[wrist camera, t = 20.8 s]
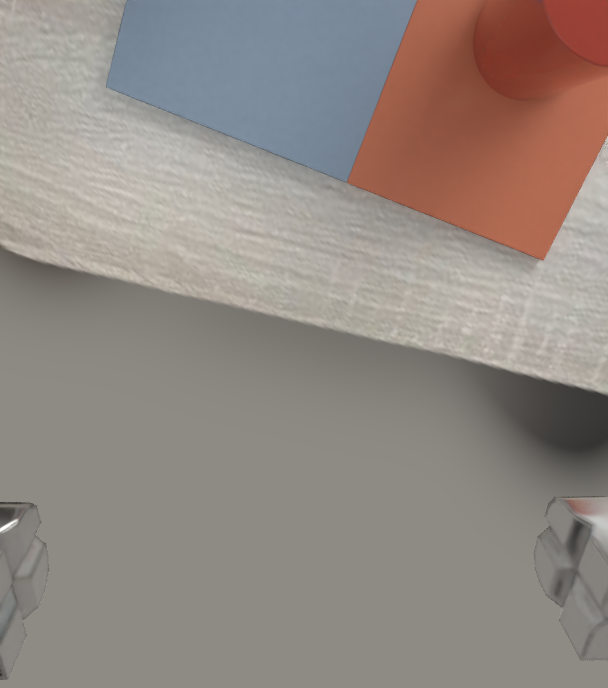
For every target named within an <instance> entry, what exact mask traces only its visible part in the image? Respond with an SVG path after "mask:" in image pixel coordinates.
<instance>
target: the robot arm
mask: <svg viewBox="0 0 608 688" xmlns="http://www.w3.org/2000/svg"><path fill="white" fill-rule="evenodd" d="M544 516H545V517H546V519H547V521H548V523H549V524H550V526H549V527H548V528H547V529H546V530H544V531H543V532H542V533H541V534H540V535H539V536H538V538H537V542H536V546H535V550H534V560H535V570H536V573H537V577H538V580H539V583H540V585H541V587H542V588H543V591H544V592H545V595H546V596H547V597H548V598H550V599H551V600H552V601H554V602H555V603H556V604H558V605H559V606H560V607H562V611H561V615H560V619H559V621H560V623H561V625H562V627H563V629H564V630H565V632H566V634H567V636H568V638H569V640H570V642H571V644H572V645H573V647H574V649H575V651H576V653H577V655H578V656H579V658H580V660H608V496H597V497H596V496H593V497H554V498H553V499H552V500H551V501H550V502H549V504H548V506H547V509H546V512H545V515H544ZM40 523H41V520H40V516H39V512H38V509H37V506H36V505H34V504H32V503H21V502H19V503H18V502H0V680H4V679H8V678H9V675H10V673H11V671H12V669H13V666H14V664H15V661H16V659H17V657H18V654H19V652H20V650H21V647H22V645H23V643H24V640H25V638H26V636H27V635H26V631H25V627H24V623H23V620H24V619H25V618H26V617H28V616H29V615H30V614H31V613H32V612H33V611H35V610H36V609H37V608H38V606H39V604H40V601H41V599H42V596H43V594H44V591H45V587H46V582H47V576H48V571H49V564H48V551H47V546H46V543H44V542H43V541H42V540H41V539H40V538H39V537H37V536H36V535H35V534H36V532H37V530H38V528H39V526H40Z"/></svg>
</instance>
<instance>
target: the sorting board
mask: <svg viewBox="0 0 608 688" xmlns="http://www.w3.org/2000/svg"><path fill="white" fill-rule="evenodd" d="M485 2H486V0H127V1H126V6H125V10H124V14H123V18H122V22H121V26H120V30H119V34H118V38H117V43H116V47H115V51H114V55H113V59H112V63H111V67H110V71H109V75H108V80H107V84H106V87H107V88H110V89H112V90H115V91H117V92H120V93H122V94H125V95H127V96H130V97H132V98H135V99H137V100H140V101H142V102H145V103H147V104H150V105H152V106H155V107H158V108H160V109H163V110H165V111H168V112H170V113H173V114H175V115H178V116H180V117H183V118H185V119H188V120H190V121H193V122H195V123H198V124H200V125H203V126H205V127H208V128H210V129H213V130H216V131H218V132H221V133H223V134H226V135H228V136H231V137H233V138H236V139H238V140H241V141H243V142H246V143H248V144H251V145H253V146H256V147H258V148H261V149H263V150H266V151H268V152H271V153H274V154H276V155H279V156H281V157H284V158H286V159H289V160H291V161H294V162H296V163H299V164H301V165H304V166H306V167H309V168H311V169H314V170H316V171H319V172H321V173H324V174H326V175H329V176H331V177H334V178H337V179H339V180H342V181H344V182H347V183H349V184H352V185H354V186H357V187H359V188H362V189H364V190H367V191H369V192H372V193H374V194H377V195H379V196H382V197H384V198H387V199H389V200H392V201H395V202H397V203H400V204H402V205H405V206H407V207H410V208H412V209H415V210H417V211H420V212H422V213H425V214H427V215H430V216H432V217H435V218H437V219H440V220H442V221H445V222H447V223H450V224H453V225H455V226H458V227H460V228H463V229H465V230H468V231H470V232H473V233H475V234H478V235H480V236H483V237H485V238H488V239H490V240H493V241H495V242H498V243H500V244H503V245H505V246H508V247H511V248H513V249H516V250H518V251H521V252H523V253H526V254H528V255H531V256H533V257H536V258H538V259H541V260H544V258H545V256H546V254H547V252H548V250H549V249H550V247H551V245H552V243H553V241H554V239H555V237H556V235H557V233H558V231H559V229H560V227H561V225H562V223H563V221H564V219H565V217H566V215H567V213H568V212H569V210H570V208H571V206H572V204H573V202H574V200H575V198H576V196H577V194H578V192H579V190H580V188H581V186H582V184H583V182H584V180H585V178H586V176H587V175H588V173H589V171H590V169H591V167H592V165H593V163H594V161H595V159H596V157H597V155H598V153H599V151H600V149H601V147H602V145H603V143H604V141H605V140H606V138H607V136H608V76H607V77H604V78H601V79H598V80H595V81H592V82H589V83H587V84H584V85H581V86H578V87H575V88H572V89H569V90H566V91H563V92H560V93H558V94H555V95H552V96H549V97H546V98H543V99H539V100H534V101H518V100H513V99H510V98H507V97H504V96H502V95H501V94H499V93H497V92H496V91H495V90H493V89H492V88H491V87H490V86H489V85H488V84H487V83H486V81H485V80H484V79H483V77H482V76H481V74H480V72H479V70H478V67H477V65H476V61H475V58H474V51H473V36H474V29H475V25H476V21H477V18H478V16H479V13H480V11H481V9H482V7H483V5H484V4H485Z"/></svg>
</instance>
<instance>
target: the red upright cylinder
mask: <svg viewBox="0 0 608 688" xmlns="http://www.w3.org/2000/svg"><path fill="white" fill-rule="evenodd" d="M473 51H474V58H475V61H476V65H477V67H478V70H479V72H480V74H481V76H482V77H483V79H484V80H485V81H486V83H487V84H488V85H489V86H490V87H491V88H492V89H493V90H495V91H496V92H497V93H499V94H501V95H502V96H504V97H507V98H510V99H513V100H518V101H534V100H539V99H543V98H546V97H549V96H552V95H555V94H558V93H560V92H563V91H566V90H569V89H572V88H575V87H578V86H581V85H584V84H587V83H589V82H592V81H595V80H598V79H601V78H604V77H607V76H608V0H486V2H485V4H484V5H483V7H482V9H481V11H480V13H479V16H478V18H477V21H476V25H475V29H474V36H473Z"/></svg>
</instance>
